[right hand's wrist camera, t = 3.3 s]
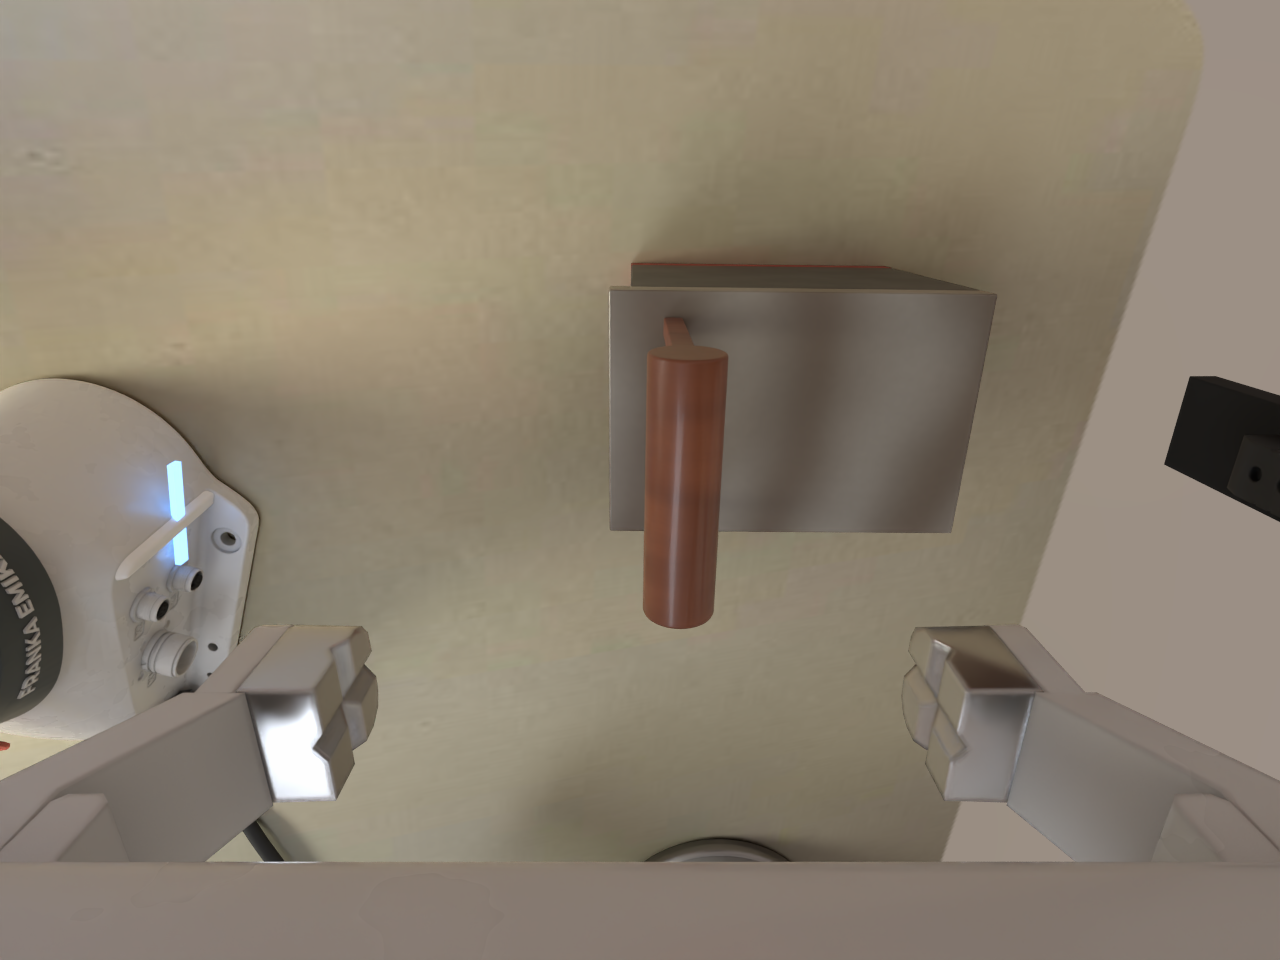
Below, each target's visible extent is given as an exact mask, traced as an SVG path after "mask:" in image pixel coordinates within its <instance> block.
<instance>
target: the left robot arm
mask: <svg viewBox="0 0 1280 960" xmlns="http://www.w3.org/2000/svg"><path fill="white" fill-rule="evenodd" d="M1165 465H1166V466H1168V467H1171V468H1173V469H1175V470H1177V471H1179V472H1181V473H1183V474H1185V475H1187V476H1189V477H1191V478H1193V479H1195V480H1197V481H1199V482H1201V483H1203V484H1205V485H1207V486H1209V487H1211V488H1213V489H1215V490H1217V491H1219V492H1221V493H1223V494H1225V495H1227V496H1229V497H1231V498H1233V499H1235V500H1237V501H1239V502H1241V503H1243V504H1245V505H1247V506H1249V507H1251V508H1253V509H1255V510H1257V511H1259V512H1261V513H1263V514H1265V515H1267V516H1269V517H1271V518H1273V519H1275V520H1277V521H1279V522H1280V396H1279V395H1276V394H1273V393H1269V392H1266V391H1263V390H1259V389H1256V388H1253V387H1249V386H1246V385H1243V384H1240V383H1236V382H1233V381H1230V380H1226V379H1223V378H1220V377H1216V376H1190V378H1189V381H1188V385H1187V388H1186V392H1185V395H1184V398H1183V402H1182V405H1181V409H1180V412H1179V416H1178V419H1177V422H1176V426H1175V429H1174V433H1173V436H1172V440H1171V443H1170V446H1169V450H1168V453H1167V457H1166V460H1165ZM644 862H789V861H788V860H786V859H785V858H784V857H782V856H780V855H779V854H777V853H775V852H773V851H771V850H769V849H767V848H764V847H761V846H759V845H755V844H752V843H748V842H743V841H737V840H726V839H710V840H700V841H694V842H688V843H684V844H680V845H677V846H674V847H671V848H668V849H666V850H664V851H662V852H659V853H658V854H656V855H654V856H652V857H650V858H649V859H647V860H646V861H644Z"/></svg>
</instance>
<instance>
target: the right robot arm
mask: <svg viewBox="0 0 1280 960" xmlns="http://www.w3.org/2000/svg"><path fill="white" fill-rule="evenodd" d="M258 526H259V517H258V514H257V512H256V510H255V509H254V507H253V506H252V505H251V504H250V503H249V502H248V501H247V500H246V499H244V498H243V497H242V496H241V495H239V494H238V493H237V492H235V491H234V490H232V489H231V488H229V487H228V486H226V485H225V484H223V483H222V482H220V481H219V480H217V479H216V478H215V477H214V476H213V475H212V474H211V473H210V472H209V470H208V469H207V468H206V467H205V465H204V464H203V463H202V461H201V460H200V459H199V457H198V456H197V455H196V453H195V452H194V451H193V449H192V448H191V447H190V446H189V444H188V443H187V442H186V441H185V440H184V439H183V438H182V437H181V435H180V434H179V433H178V432H177V431H176V430H174V429H173V428H172V427H171V426H170V425H169V424H168V423H167V422H166V421H164V420H163V419H162V418H161V417H159V416H158V415H157V414H155V413H154V412H153V411H151V410H150V409H148V408H147V407H145V406H144V405H142V404H140V403H138V402H137V401H135V400H133V399H131V398H129V397H127V396H125V395H123V394H121V393H119V392H116V391H114V390H111V389H109V388H106V387H103V386H100V385H96V384H93V383H88V382H84V381H78V380H71V379H58V378H51V379H37V380H31V381H26V382H22V383H19V384H16V385H13V386H11V387H8V388H6V389H4V390H2V391H0V732H2V733H7V734H13V735H19V736H26V737H33V738H42V739H54V740H84V741H82V742H80V743H78V744H75V745H73V746H71V747H69V748H67V749H65V750H63V751H61V752H59V753H57V754H55V755H53V756H51V757H48V758H46V759H44V760H42V761H40V762H38V763H36V764H34V765H32V766H30V767H28V768H26V769H23V770H21V771H19V772H17V773H15V774H13V775H11V776H9V777H7V778H5V779H3V780H1V781H0V960H1280V781H1279V780H1277V779H1275V778H1273V777H1271V776H1269V775H1266V774H1264V773H1262V772H1260V771H1258V770H1256V769H1254V768H1252V767H1250V766H1248V765H1246V764H1244V763H1242V762H1239V761H1237V760H1235V759H1233V758H1231V757H1229V756H1227V755H1225V754H1223V753H1221V752H1219V751H1217V750H1215V749H1213V748H1210V747H1208V746H1206V745H1204V744H1202V743H1200V742H1198V741H1196V740H1194V739H1192V738H1190V737H1188V736H1186V735H1183V734H1181V733H1179V732H1177V731H1175V730H1173V729H1171V728H1169V727H1167V726H1165V725H1163V724H1161V723H1159V722H1156V721H1154V720H1152V719H1150V718H1148V717H1146V716H1144V715H1142V714H1140V713H1138V712H1136V711H1134V710H1132V709H1130V708H1128V707H1125V706H1123V705H1121V704H1119V703H1117V702H1115V701H1113V700H1111V699H1109V698H1107V697H1105V696H1103V695H1101V694H1099V693H1085V692H1084V690H1083V689H1082V688H1081V687H1080V686H1079V685H1078V684H1077V683H1076V682H1075V681H1074V680H1073V678H1072V677H1071V676H1070V675H1069V674H1068V673H1067V672H1066V671H1065V670H1064V669H1063V668H1062V666H1061V665H1060V664H1059V663H1058V662H1057V661H1056V660H1055V659H1054V658H1053V657H1052V656H1051V654H1050V653H1049V652H1048V651H1047V650H1046V649H1045V648H1044V647H1043V646H1042V645H1041V644H1040V642H1039V641H1038V640H1037V639H1036V638H1035V637H1034V636H1033V635H1032V634H1031V633H1030V632H1029V630H1028V629H1027V628H1025V627H1023V626H1020V625H1018V624H1010V625H984V626H953V627H915V629H914V631H913V633H912V635H911V639H910V644H909V650H908V651H909V653H910V655H911V657H912V658H913V660H914V662H915V663H916V665H915V666H914V667H913V668H912V669H911V670H910V671H909V672H908V673H907V674H906V675H905V676H904V680H903V688H902V706H903V715H904V719H905V722H906V726H907V729H908V731H909V733H910V735H911V737H912V739H913V741H914V742H916V743H917V744H919V745H920V746H922V747H923V748H925V749H926V750H928V751H927V757H926V762H925V765H926V766H927V768H928V770H929V772H930V774H931V776H932V778H933V780H934V782H935V784H936V786H937V788H938V790H939V792H940V793H941V795H942V797H943V799H944V801H974V802H1007V806H1008V807H1010V808H1011V809H1012V810H1013V811H1014V812H1016V813H1017V814H1018V815H1019V816H1020V817H1022V818H1023V819H1024V820H1025V821H1027V822H1028V823H1029V824H1030V825H1031V826H1033V827H1034V828H1035V829H1036V830H1038V831H1039V832H1040V833H1041V834H1042V835H1044V836H1045V837H1046V838H1047V839H1048V840H1050V841H1051V842H1052V843H1053V844H1054V845H1056V846H1057V847H1058V848H1059V849H1061V850H1062V851H1063V852H1064V853H1066V854H1067V855H1068V856H1069V857H1070V858H1072V859H1073V860H1074V861H1075V862H285V861H284V860H283V859H282V857H281V856H280V855H279V853H278V852H277V851H276V849H275V848H274V846H273V845H272V844H271V842H270V841H269V840H268V838H267V837H266V835H265V834H264V832H263V831H262V829H261V828H260V826H259V825H258V823H257V822H256V819H257V818H259V817H260V816H261V815H262V814H264V813H265V812H266V811H267V810H268V809H270V808H271V807H272V806H273V803H272V802H305V801H336V799H337V798H338V796H339V794H340V792H341V790H342V788H343V786H344V784H345V782H346V780H347V778H348V776H349V774H350V772H351V770H352V768H353V766H354V765H355V762H354V757H353V751H352V750H354V749H355V748H357V747H358V746H360V745H361V744H363V743H364V742H366V741H367V739H368V737H369V735H370V733H371V730H372V728H373V726H374V722H375V718H376V713H377V709H378V686H377V680H376V676H375V675H374V674H373V673H372V672H371V671H370V670H369V669H368V668H367V667H366V666H365V665H364V663H365V662H366V660H367V658H368V657H369V655H370V653H371V651H372V650H371V645H370V640H369V636H368V632H367V631H366V630H365V629H364V628H363V627H362V626H327V625H295V626H294V625H261V626H257V627H254V628H253V629H252V631H251V632H250V633H249V634H248V635H247V636H246V637H245V638H244V639H243V640H242V641H241V643H240V644H239V645H238V646H237V644H238V638H239V632H240V627H241V621H242V616H243V610H244V605H245V599H246V593H247V588H248V582H249V577H250V571H251V565H252V560H253V554H254V549H255V543H256V537H257V532H258ZM227 532H228V533H231V534H233V535H234V537H235V539H236V540H233V539H231V538H230V537H229V536H228V534H227ZM9 747H10V743H7V742H2V741H0V751H1V750H7V749H8V748H9ZM242 831H243V832H244V834H245V835H246V837H247V838H248V840H249V841H250V843H251V844H252V846H253V847H254V848H255V850H256V851H257V853H258V854H259V855H260V857H261V858H262V859H263V861H264V862H205V861H206V860H207V859H209V858H210V857H211V856H212V855H214V854H215V853H216V852H217V851H218V850H220V849H221V848H222V847H223V846H225V845H226V844H227V843H228V842H229V841H231V840H232V839H233V838H234V837H236V836H237V835H238V834H239V833H240V832H242Z"/></svg>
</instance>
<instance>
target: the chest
mask: <svg viewBox="0 0 1280 960" xmlns="http://www.w3.org/2000/svg"><path fill="white" fill-rule="evenodd" d="M631 286H641V287H726V288H811V289H896V290H977V289H973V288H969V287H965V286H961V285H957V284H953V283H949V282H945V281H941V280H936V279H932V278H928V277H924V276H920V275H916V274H912V273H908V272H904V271H900V270H896V269H892V268H890V267H886V266H822V265H740V264H658V263H631Z"/></svg>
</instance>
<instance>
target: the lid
mask: <svg viewBox="0 0 1280 960" xmlns="http://www.w3.org/2000/svg"><path fill="white" fill-rule="evenodd" d="M996 299H997V295H996V294H993V293H989V292H985V291H981V290H896V289H811V288H726V287H641V286H611V287H610V289H609V478H610V530H613V531H644V573H643V610H644V613H645V615H646V616H647V617H648V618H649V619H650V620H651V621H652V622H654V623H656V624H658V625H661V626H664V627H668V628H675V629H687V628H693V627H697V626H700V625H702V624H704V623H706V622H707V621H708V620H709V619H710V618H711V616H712V615H713V611H714V596H715V579H716V562H717V545H718V531H749V532H885V533H951V531H952V526H953V521H954V515H955V510H956V505H957V500H958V495H959V490H960V484H961V479H962V474H963V469H964V464H965V459H966V453H967V448H968V443H969V438H970V433H971V428H972V423H973V417H974V412H975V407H976V402H977V397H978V392H979V386H980V381H981V376H982V371H983V366H984V361H985V355H986V350H987V345H988V340H989V335H990V330H991V324H992V319H993V314H994V309H995V304H996Z"/></svg>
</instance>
